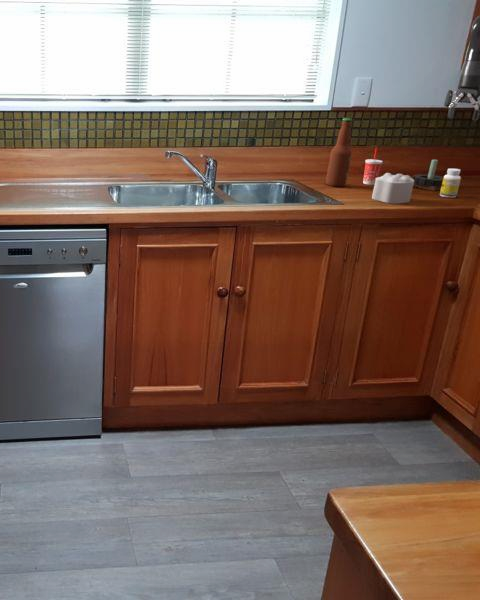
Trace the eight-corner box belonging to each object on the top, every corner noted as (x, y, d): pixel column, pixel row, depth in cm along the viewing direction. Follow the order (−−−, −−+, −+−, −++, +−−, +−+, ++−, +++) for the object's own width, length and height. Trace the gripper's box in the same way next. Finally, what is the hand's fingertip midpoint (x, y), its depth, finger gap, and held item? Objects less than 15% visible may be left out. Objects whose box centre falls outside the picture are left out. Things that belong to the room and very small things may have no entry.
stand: (445, 188, 234) (452, 160, 230) (433, 190, 229) (440, 162, 225) (422, 184, 241) (429, 157, 237) (410, 186, 236) (416, 159, 232)
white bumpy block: (367, 197, 217) (372, 173, 213) (392, 194, 222) (397, 170, 219) (392, 204, 208) (398, 179, 205) (418, 201, 213) (423, 176, 210)
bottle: (349, 186, 234) (362, 119, 224) (334, 187, 231) (347, 119, 221) (335, 182, 240) (347, 117, 230) (321, 183, 237) (332, 117, 228)
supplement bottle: (440, 193, 225) (447, 167, 221) (457, 196, 221) (464, 169, 218) (437, 196, 221) (444, 169, 217) (454, 198, 218) (461, 171, 214)
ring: (450, 184, 233) (452, 178, 232) (435, 187, 227) (437, 181, 226) (421, 179, 242) (422, 173, 241) (406, 182, 236) (407, 176, 235)
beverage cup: (374, 182, 242) (382, 146, 237) (380, 185, 237) (387, 149, 231) (358, 181, 243) (365, 146, 237) (363, 184, 237) (371, 148, 232)
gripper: (498, 74, 219) (487, 120, 225) (457, 73, 230) (447, 117, 236) (489, 74, 215) (477, 122, 221) (447, 73, 226) (437, 118, 232)
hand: (462, 119), depth 229 cm, fingers open, 8 cm apart
